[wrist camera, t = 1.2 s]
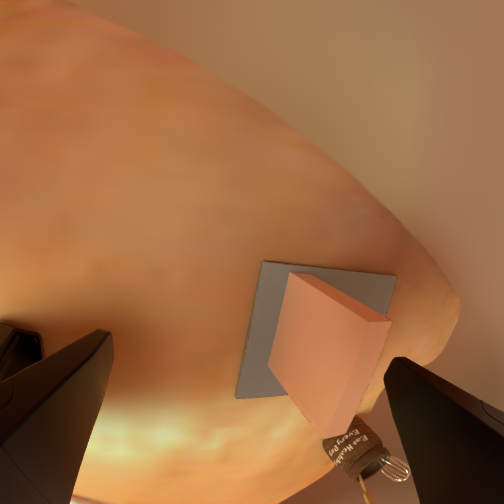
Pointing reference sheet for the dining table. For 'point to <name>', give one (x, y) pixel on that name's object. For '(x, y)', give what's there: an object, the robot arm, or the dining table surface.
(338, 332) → the block
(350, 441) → the utensil holder
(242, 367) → the slate mat
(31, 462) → the robot arm
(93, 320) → the dining table surface
